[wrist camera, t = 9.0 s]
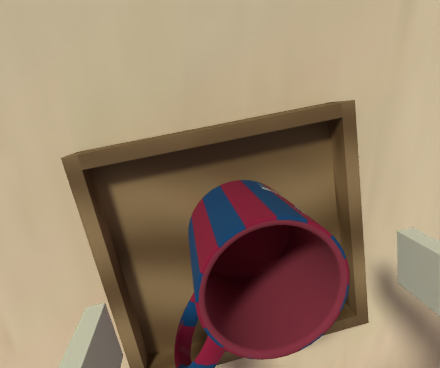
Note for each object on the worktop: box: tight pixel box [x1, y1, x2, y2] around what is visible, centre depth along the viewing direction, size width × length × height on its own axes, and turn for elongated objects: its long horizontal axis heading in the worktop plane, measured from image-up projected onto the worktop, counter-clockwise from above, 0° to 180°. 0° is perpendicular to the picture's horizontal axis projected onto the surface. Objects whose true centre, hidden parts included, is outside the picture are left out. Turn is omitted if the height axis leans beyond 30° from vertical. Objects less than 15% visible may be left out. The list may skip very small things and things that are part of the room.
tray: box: [61, 100, 368, 368], centre depth 18 cm, size 15×16×2 cm
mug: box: [174, 180, 350, 368], centre depth 15 cm, size 7×10×7 cm
